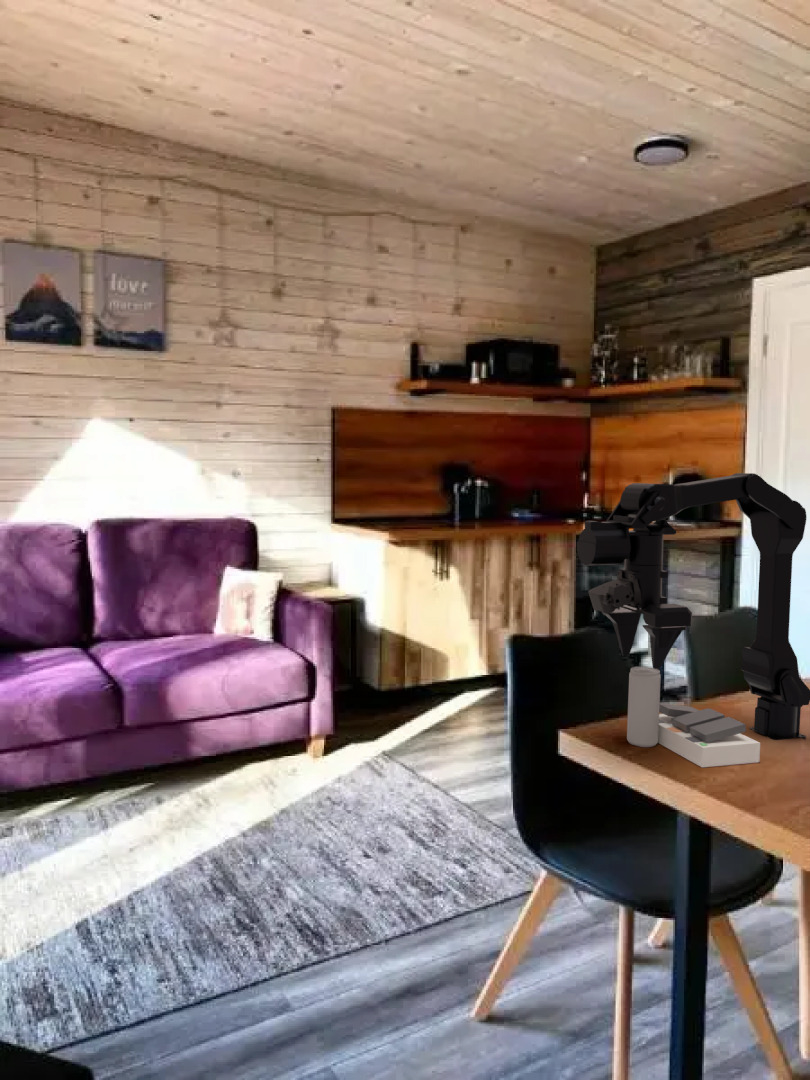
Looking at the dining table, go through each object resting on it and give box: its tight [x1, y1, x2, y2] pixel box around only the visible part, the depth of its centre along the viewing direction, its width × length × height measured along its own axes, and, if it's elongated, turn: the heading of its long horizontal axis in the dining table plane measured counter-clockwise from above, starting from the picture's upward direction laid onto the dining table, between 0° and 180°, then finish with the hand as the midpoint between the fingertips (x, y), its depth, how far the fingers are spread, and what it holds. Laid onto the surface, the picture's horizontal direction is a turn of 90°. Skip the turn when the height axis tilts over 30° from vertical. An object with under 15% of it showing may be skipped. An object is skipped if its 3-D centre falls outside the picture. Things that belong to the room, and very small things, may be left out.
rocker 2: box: [671, 707, 726, 733], centre depth 136 cm, size 7×4×1 cm, turn 106°
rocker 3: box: [690, 716, 747, 743], centre depth 131 cm, size 7×4×1 cm, turn 106°
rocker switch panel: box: [657, 713, 761, 768], centre depth 136 cm, size 10×17×3 cm, turn 16°
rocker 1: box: [659, 702, 700, 717], centre depth 140 cm, size 7×4×1 cm, turn 106°
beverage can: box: [626, 666, 661, 748], centre depth 137 cm, size 5×5×12 cm
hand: (640, 661), depth 135 cm, fingers open, 9 cm apart
